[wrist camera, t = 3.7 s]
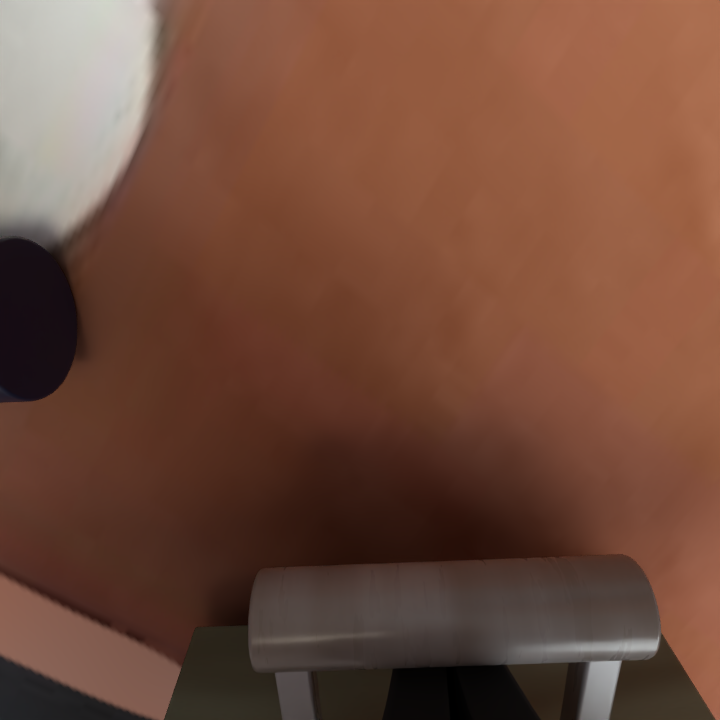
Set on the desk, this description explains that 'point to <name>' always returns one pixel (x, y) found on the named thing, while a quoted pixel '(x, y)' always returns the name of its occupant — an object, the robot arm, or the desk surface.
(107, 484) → the desk surface
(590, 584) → the drawer
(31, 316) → the marker
